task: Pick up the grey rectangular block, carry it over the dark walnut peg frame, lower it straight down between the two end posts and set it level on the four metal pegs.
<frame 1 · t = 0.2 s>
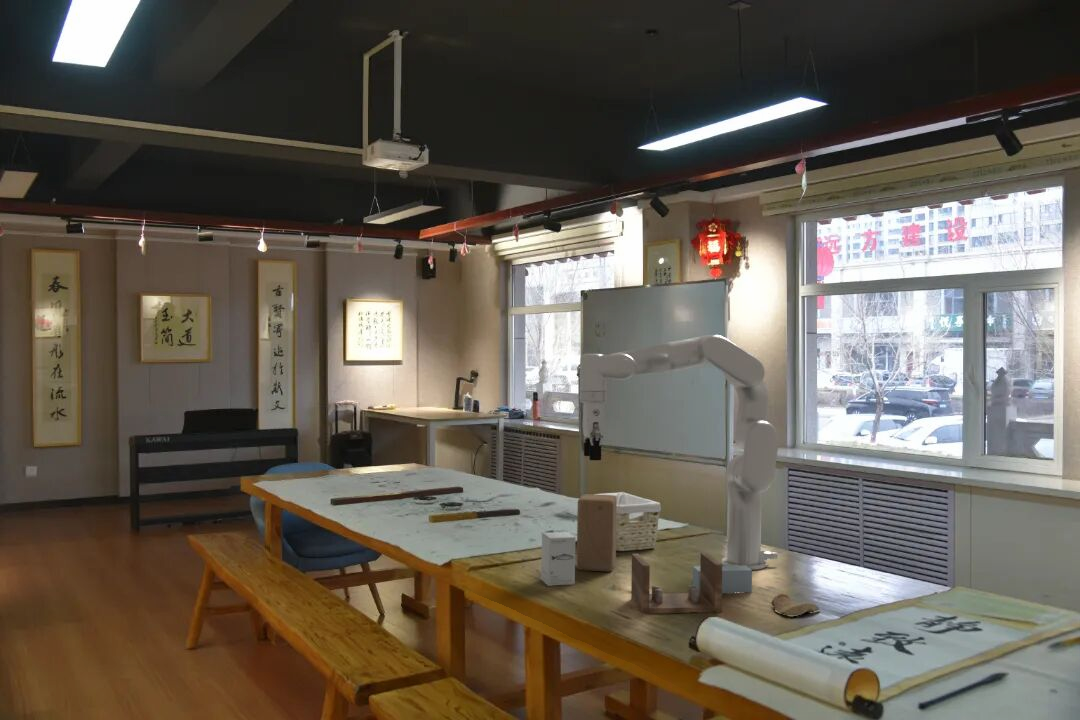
hand: (592, 458, 244), 31 cm above the table, fingers open, 9 cm apart
storage basket: (620, 544, 276), on the table
supplement box: (557, 583, 229), on the table
peg frame: (675, 605, 209), on the table
pottery shard: (791, 613, 206), on the table
wooden block: (596, 568, 245), on the table
grey rectangular block: (721, 591, 222), on the table
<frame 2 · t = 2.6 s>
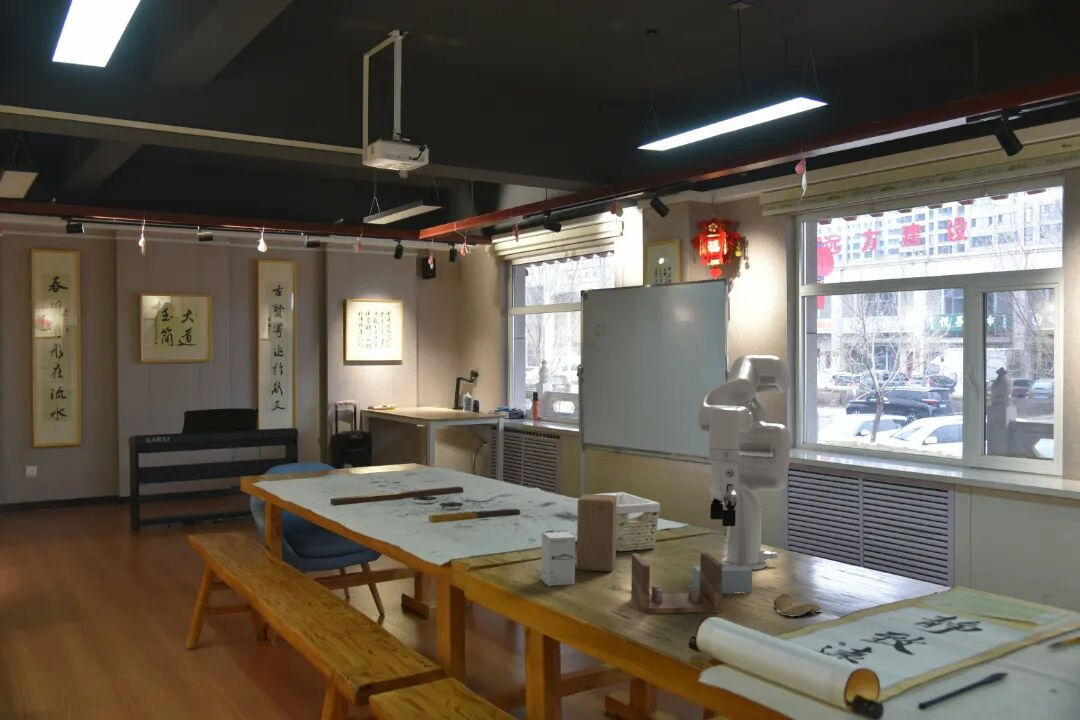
hand: (722, 522, 222), 18 cm above the table, fingers open, 9 cm apart
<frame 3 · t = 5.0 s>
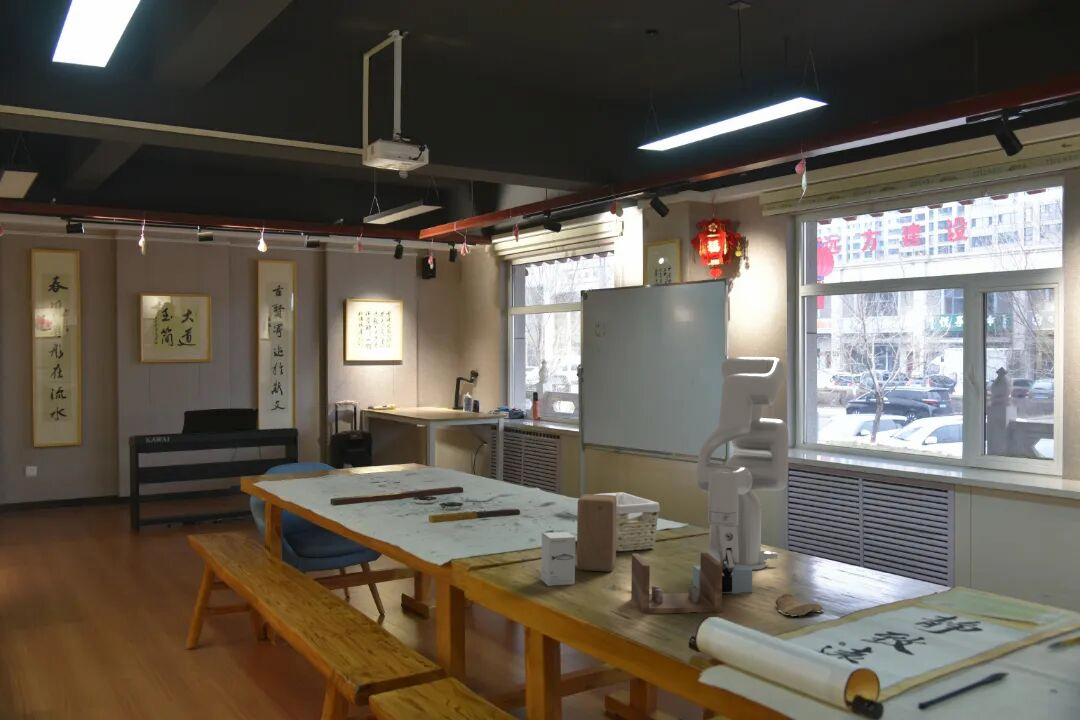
hand: (721, 587, 222), 1 cm above the table, fingers closed on grey rectangular block, 5 cm apart
grey rectangular block: (722, 590, 222), on the table, touching gripper
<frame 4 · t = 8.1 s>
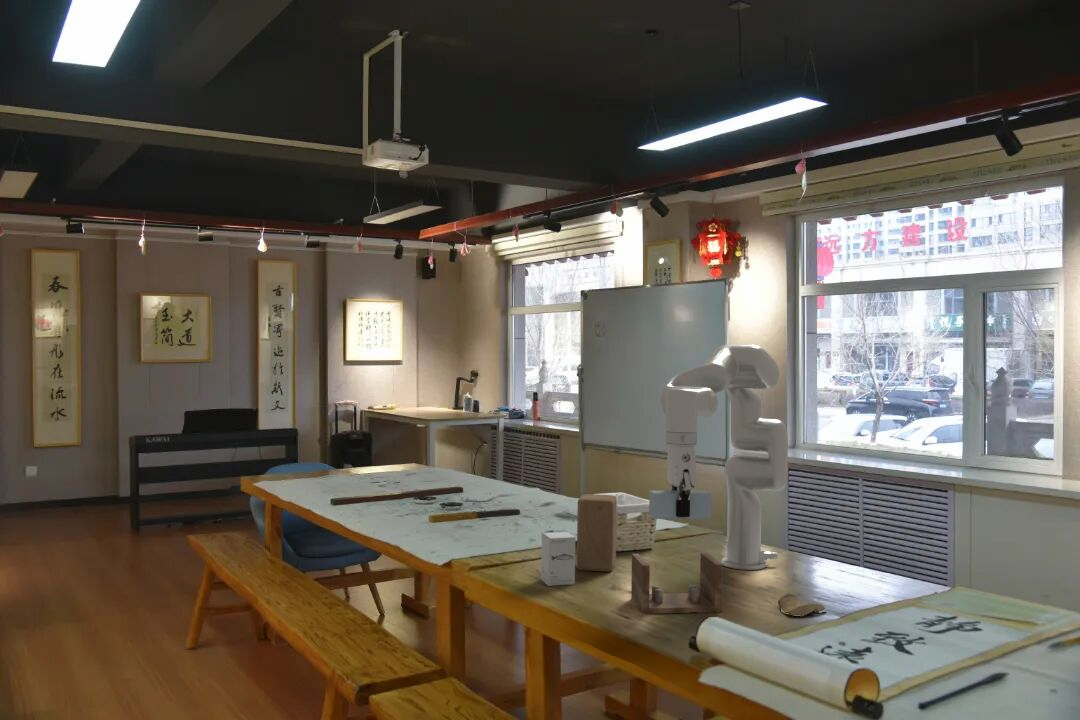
hand: (679, 513, 209), 22 cm above the table, fingers closed on grey rectangular block, 5 cm apart
grey rectangular block: (679, 516, 209), point 21 cm above the table, touching gripper
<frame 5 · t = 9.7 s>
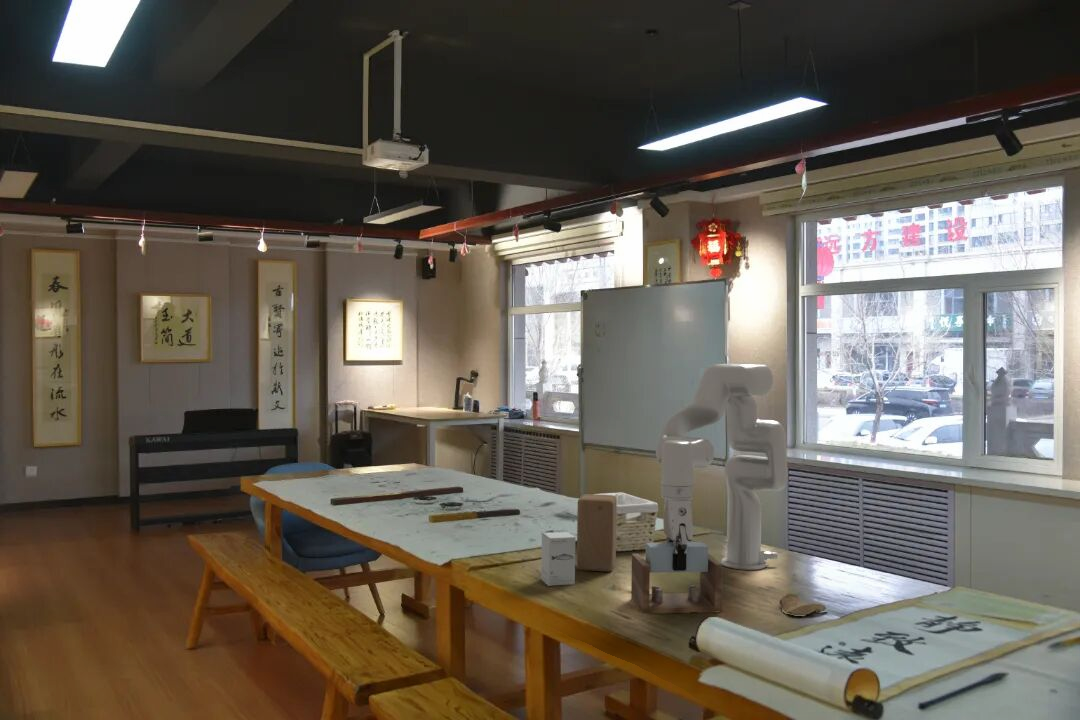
hand: (676, 566, 209), 9 cm above the table, fingers closed on grey rectangular block, 5 cm apart
grey rectangular block: (676, 569, 209), point 9 cm above the table, touching gripper
when the fingers open (6 cm above the table, at t = 11.3 s): grey rectangular block stays where it is, resting on peg frame.
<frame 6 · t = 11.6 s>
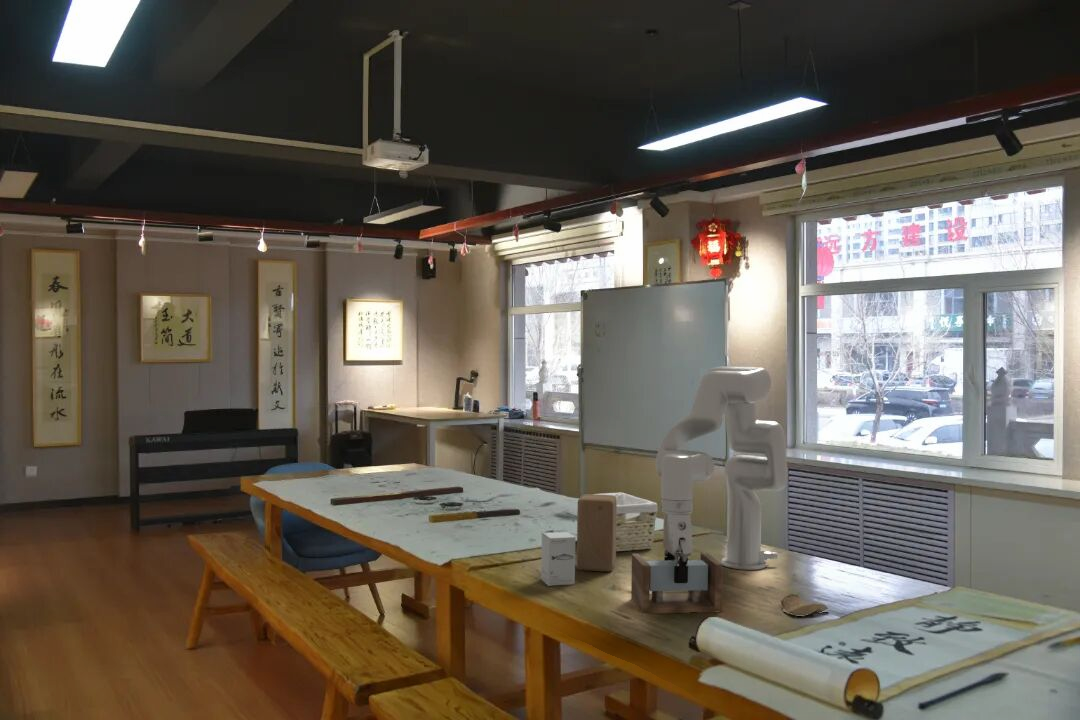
hand: (675, 577, 209), 7 cm above the table, fingers open, 8 cm apart
grey rectangular block: (676, 587, 209), point 4 cm above the table, touching peg frame
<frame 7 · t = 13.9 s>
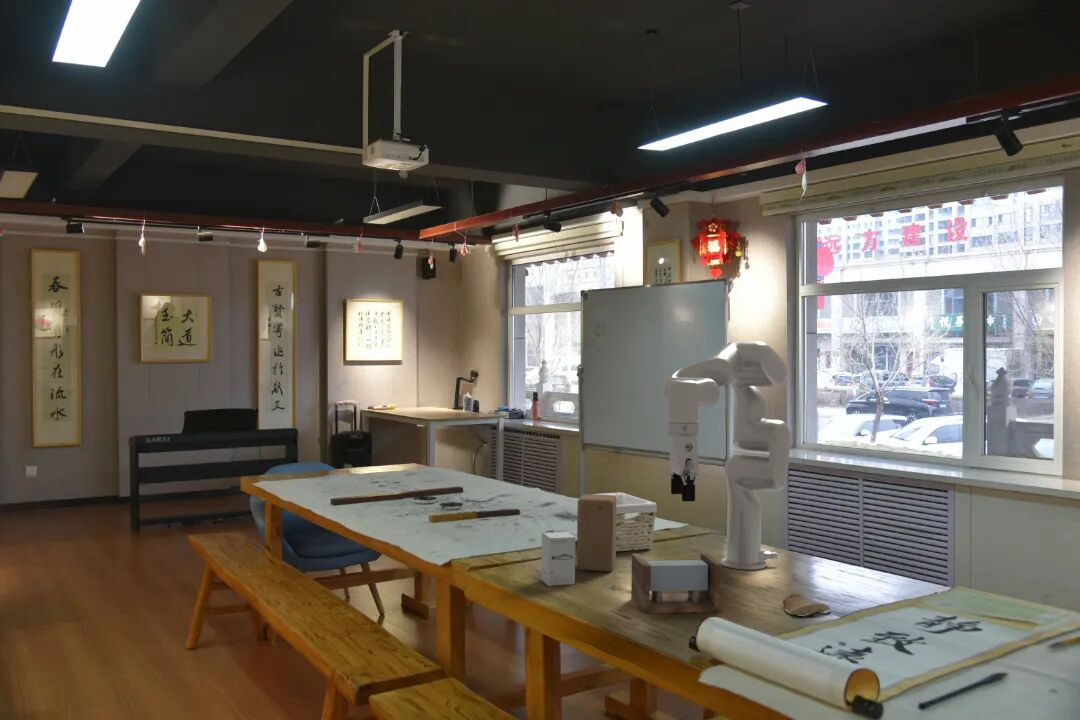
hand: (682, 497, 217), 25 cm above the table, fingers open, 9 cm apart
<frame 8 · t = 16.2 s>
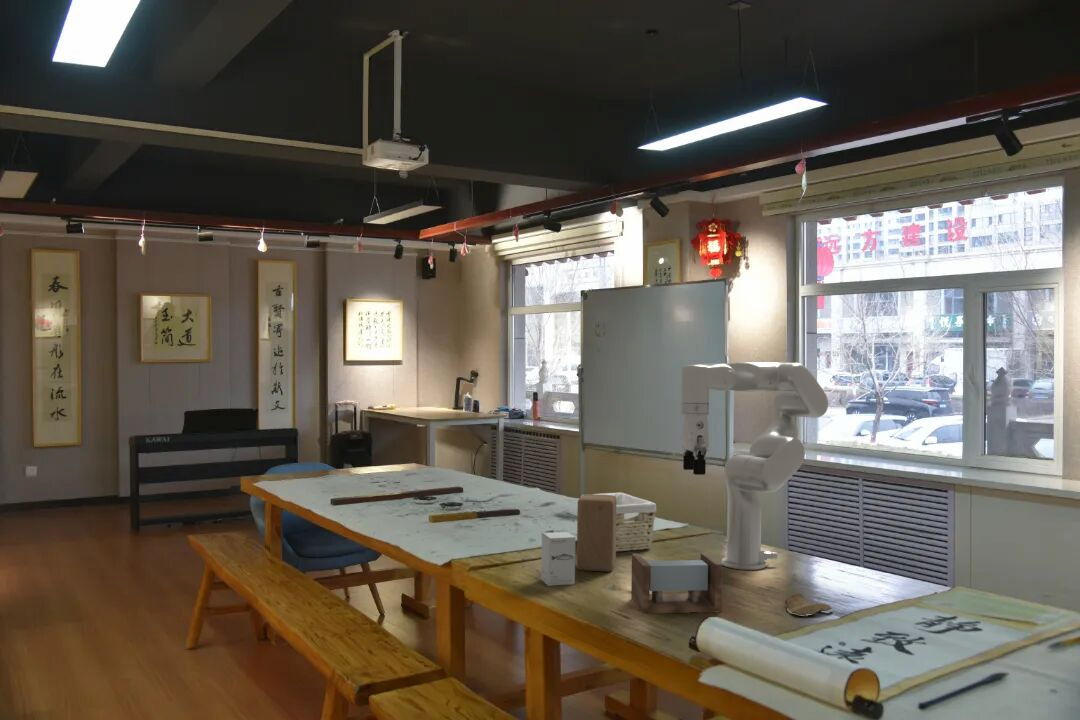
hand: (694, 471, 238), 28 cm above the table, fingers open, 9 cm apart
at the end: grey rectangular block 0.2 cm off-centre on the peg frame, point 4.2 cm above the peg frame's base; grey rectangular block tilted 0°; the gripper is holding nothing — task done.
